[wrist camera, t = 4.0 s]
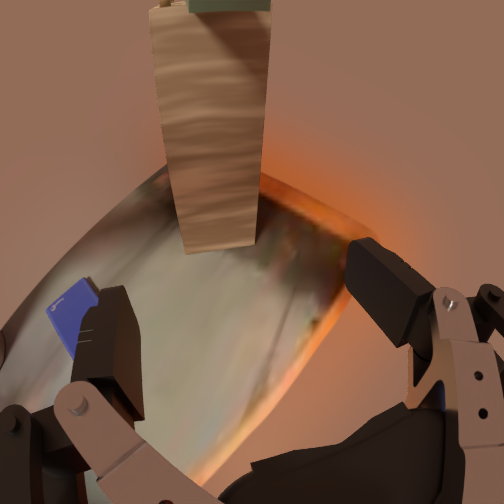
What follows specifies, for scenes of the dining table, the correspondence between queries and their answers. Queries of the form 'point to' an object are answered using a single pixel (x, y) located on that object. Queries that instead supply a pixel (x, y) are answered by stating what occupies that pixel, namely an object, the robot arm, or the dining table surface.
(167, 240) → the dining table surface
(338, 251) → the dining table surface
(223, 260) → the dining table surface
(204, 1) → the grey-green rectangular bar
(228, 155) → the stand
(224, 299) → the dining table surface
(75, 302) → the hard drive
